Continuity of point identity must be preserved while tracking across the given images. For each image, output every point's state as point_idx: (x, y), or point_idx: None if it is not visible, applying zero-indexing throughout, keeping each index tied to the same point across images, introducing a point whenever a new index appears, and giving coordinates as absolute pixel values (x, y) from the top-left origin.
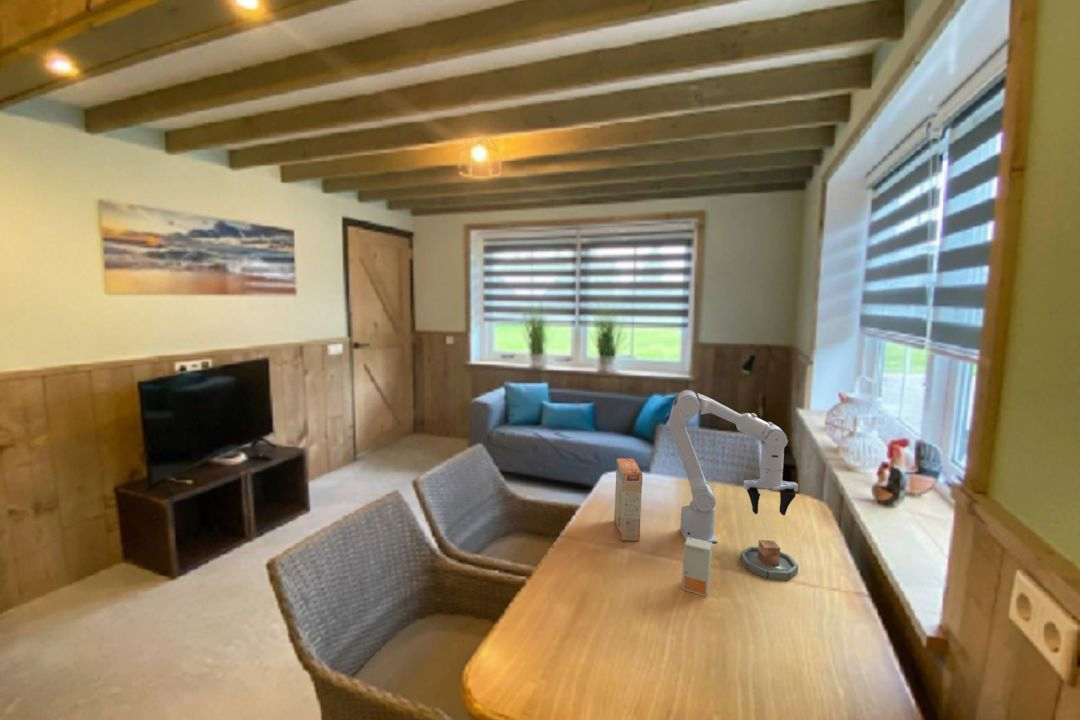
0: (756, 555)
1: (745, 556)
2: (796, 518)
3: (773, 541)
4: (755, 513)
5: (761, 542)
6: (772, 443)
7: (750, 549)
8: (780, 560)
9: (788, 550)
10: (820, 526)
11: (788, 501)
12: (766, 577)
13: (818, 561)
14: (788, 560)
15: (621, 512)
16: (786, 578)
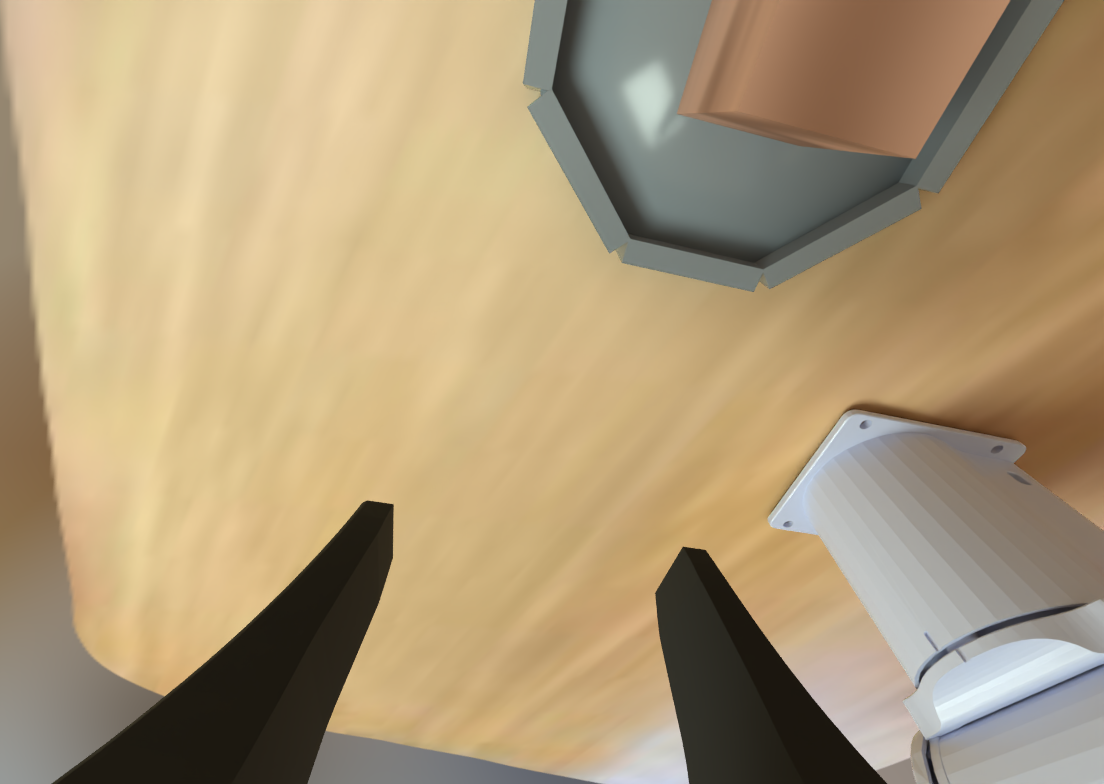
0: (782, 180)
1: (956, 125)
2: (228, 570)
3: (765, 88)
4: (707, 554)
5: (953, 78)
6: None
7: (789, 252)
8: (636, 59)
9: (435, 274)
10: (112, 502)
11: (199, 725)
12: None
13: (259, 67)
14: (560, 47)
15: None
16: None
